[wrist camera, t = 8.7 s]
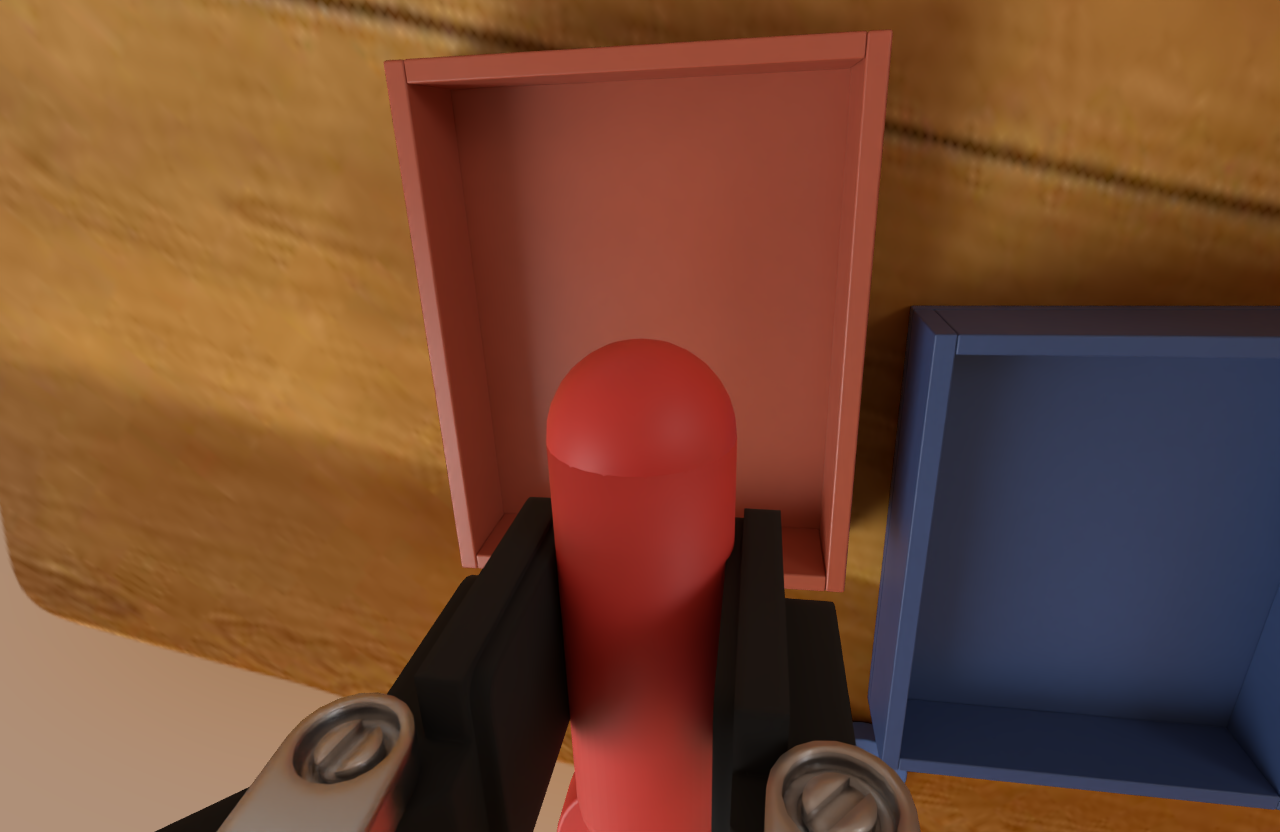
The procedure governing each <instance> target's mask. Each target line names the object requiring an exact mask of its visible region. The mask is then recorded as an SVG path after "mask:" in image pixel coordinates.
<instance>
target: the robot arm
mask: <svg viewBox="0 0 1280 832" xmlns="http://www.w3.org/2000/svg"><path fill="white" fill-rule="evenodd" d="M569 721H570V710H569V698H568V687H567V675H566V664H565V652H564V641H563V629H562V618H561V607H560V595H559V584H558V572H557V561H556V549H555V538H554V527H553V515H552V504H551V498H547V497H529V498H528V499H527V500H526V502H525V503H524V505H523V507H522V508H521V510H520V511H519V513H518V514H517V516H516V518H515V519H514V521H513V522H512V524H511V525H510V527H509V528H508V530H507V532H506V533H505V535H504V536H503V538H502V539H501V541H500V543H499V544H498V546H497V547H496V549H495V550H494V552H493V553H492V555H491V557H490V558H489V560H488V561H487V563H486V564H485V566H484V568H483V569H482V571H481V572H480V574H479V575H471V576H468V577H466V578H465V579H464V580H463V581H462V583H461V584H460V585H459V587H458V588H457V590H456V591H455V593H454V594H453V596H452V597H451V599H450V600H449V602H448V603H447V605H446V606H445V608H444V609H443V611H442V612H441V614H440V615H439V617H438V618H437V620H436V621H435V623H434V624H433V626H432V627H431V629H430V630H429V632H428V633H427V635H426V636H425V638H424V639H423V641H422V642H421V644H420V645H419V647H418V648H417V650H416V651H415V653H414V654H413V656H412V657H411V659H410V660H409V662H408V663H407V665H406V666H405V668H404V669H403V671H402V672H401V674H400V675H399V677H398V678H397V680H396V681H395V683H394V684H393V686H392V687H391V689H390V690H389V692H388V693H387V694H382V693H359V694H355V695H351V696H348V697H344V698H340V699H337V700H335V701H333V702H331V703H329V704H327V705H325V706H322V707H320V708H319V709H317V710H316V711H314V712H313V713H312V714H310V715H309V716H307V717H306V718H305V719H303V720H302V721H301V722H300V723H299V724H298V725H297V726H296V727H295V728H294V729H293V730H292V731H291V733H290V734H289V735H288V736H287V737H286V739H285V740H284V741H283V743H282V744H281V746H280V747H279V748H278V749H277V751H276V752H275V753H274V755H273V756H272V758H271V759H270V760H269V762H268V763H267V764H266V766H265V767H264V768H263V770H262V771H261V773H260V774H259V775H258V777H257V778H256V779H255V781H254V782H253V783H252V785H251V786H250V787H248V788H246V789H244V790H242V791H240V792H238V793H236V794H233V795H231V796H229V797H227V798H225V799H223V800H221V801H219V802H217V803H215V804H213V805H210V806H208V807H206V808H204V809H202V810H200V811H198V812H196V813H193V814H191V815H189V816H187V817H185V818H183V819H181V820H179V821H176V822H174V823H172V824H170V825H168V826H166V827H164V828H162V829H160V830H157V831H155V832H533V830H534V827H535V824H536V821H537V818H538V815H539V812H540V809H541V806H542V803H543V800H544V797H545V794H546V791H547V787H548V785H549V782H550V778H551V775H552V772H553V769H554V766H555V763H556V760H557V757H558V754H559V751H560V748H561V745H562V742H563V739H564V736H565V733H566V730H567V727H568V724H569ZM711 832H920V826H919V821H918V815H917V810H916V807H915V804H914V802H913V799H912V796H911V793H910V791H909V789H908V788H907V786H906V785H905V784H904V782H903V781H902V779H901V778H900V777H899V775H898V774H897V773H896V772H895V771H894V770H893V769H892V768H891V767H889V766H888V765H887V764H886V763H885V762H883V761H882V760H881V759H880V758H879V757H877V756H875V755H873V754H871V753H869V752H867V751H865V750H863V749H861V748H859V747H857V746H856V741H855V735H854V728H853V722H852V715H851V708H850V702H849V695H848V688H847V682H846V675H845V668H844V662H843V655H842V649H841V642H840V635H839V629H838V622H837V615H836V610H835V605H834V603H833V602H828V601H814V600H801V599H788V598H785V592H784V570H783V548H782V526H781V510H768V509H750V508H744V518H741V517H735V541H734V547H733V550H732V553H731V555H730V556H729V558H728V559H727V560H726V564H725V576H724V587H723V598H722V610H721V621H720V632H719V644H718V655H717V667H716V678H715V690H714V707H713V740H712V817H711Z"/></svg>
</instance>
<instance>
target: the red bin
mask: <svg viewBox="0 0 1280 832" xmlns="http://www.w3.org/2000/svg"><path fill="white" fill-rule="evenodd" d="M892 37H893V31H892V30H890V29H887V30H871V31H868V32H866V31H853V32H837V33H821V34H805V35H789V36H773V37H756V38H740V39H724V40H708V41H692V42H676V43H659V44H643V45H627V46H611V47H595V48H579V49H562V50H546V51H530V52H514V53H498V54H482V55H465V56H449V57H433V58H417V59H405V60H386V61H384V68H385V75H386V81H387V87H388V94H389V100H390V107H391V113H392V120H393V126H394V132H395V139H396V145H397V152H398V158H399V164H400V171H401V177H402V184H403V190H404V196H405V203H406V209H407V216H408V222H409V228H410V235H411V241H412V248H413V254H414V261H415V267H416V273H417V280H418V286H419V293H420V299H421V305H422V312H423V318H424V325H425V331H426V337H427V344H428V350H429V357H430V363H431V370H432V376H433V382H434V389H435V395H436V402H437V408H438V414H439V421H440V427H441V434H442V440H443V446H444V453H445V459H446V466H447V472H448V478H449V485H450V491H451V498H452V504H453V511H454V517H455V523H456V530H457V536H458V543H459V549H460V555H461V562H462V567H465V568H480V569H483V568H484V566H485V564H486V563H487V561H488V560H489V558H490V557H491V555H492V553H493V552H494V550H495V549H496V547H497V546H498V544H499V543H500V541H501V539H502V538H503V536H504V535H505V533H506V532H507V530H508V528H509V527H510V525H511V524H512V522H513V521H514V519H515V518H516V516H517V514H518V513H519V511H520V510H521V508H522V507H523V505H524V503H525V502H526V500H527V499H528V498H529V497H547V498H551V492H550V481H549V469H548V458H547V447H546V428H547V417H548V413H549V408H550V404H551V402H552V400H553V398H554V395H555V393H556V391H557V389H558V387H559V385H560V383H561V381H562V380H563V379H564V378H565V376H566V375H567V374H568V373H569V371H570V370H571V369H572V368H573V367H574V366H575V365H576V364H577V363H578V362H580V361H581V360H582V359H583V358H585V357H586V356H587V355H588V354H590V353H591V352H593V351H595V350H597V349H599V348H601V347H603V346H605V345H608V344H610V343H613V342H617V341H622V340H629V339H654V340H661V341H666V342H669V343H672V344H674V345H677V346H679V347H681V348H684V349H686V350H688V351H690V352H691V353H693V354H694V355H695V356H697V357H698V358H699V359H701V360H702V361H704V362H705V363H706V364H707V365H708V366H709V367H710V368H711V370H712V371H713V372H714V373H715V374H716V375H717V376H718V378H719V379H720V380H721V382H722V384H723V386H724V387H725V389H726V391H727V393H728V395H729V396H730V400H731V403H732V406H733V409H734V413H735V419H736V430H737V463H736V502H735V517H741V518H744V508H750V509H768V510H781V526H782V548H783V570H784V588H785V589H800V590H816V591H824V590H825V589H826V591H831V592H843V591H844V587H845V576H846V564H847V553H848V541H849V530H850V518H851V507H852V496H853V484H854V473H855V461H856V450H857V438H858V427H859V415H860V404H861V392H862V381H863V369H864V358H865V347H866V335H867V324H868V312H869V301H870V289H871V278H872V266H873V255H874V243H875V232H876V220H877V209H878V198H879V186H880V175H881V163H882V152H883V140H884V129H885V117H886V106H887V94H888V83H889V71H890V60H891V49H892Z"/></svg>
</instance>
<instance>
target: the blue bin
mask: <svg viewBox="0 0 1280 832" xmlns="http://www.w3.org/2000/svg"><path fill="white" fill-rule="evenodd" d="M868 702H869V707H870V713H871V718H872V724H873V729H874V734H875V740H876V745H877V750H878V756H879V758H880V759H881V760H882V761H883V762H885V763H886V764H887V765H888V766H889V767H891V768H892V769H893V770H898V769H899V770H901V771H910V772H920V773H929V774H939V775H949V776H958V777H968V778H977V779H987V780H996V781H1006V782H1015V783H1025V784H1034V785H1044V786H1054V787H1063V788H1073V789H1082V790H1092V791H1101V792H1111V793H1120V794H1130V795H1140V796H1149V797H1159V798H1168V799H1178V800H1187V801H1197V802H1206V803H1216V804H1225V805H1235V806H1245V807H1254V808H1264V809H1273V810H1274V809H1277V810H1280V306H911V307H910V316H909V325H908V334H907V343H906V352H905V361H904V371H903V380H902V389H901V398H900V407H899V416H898V425H897V434H896V443H895V453H894V462H893V471H892V480H891V489H890V498H889V507H888V516H887V525H886V534H885V544H884V553H883V562H882V571H881V580H880V589H879V598H878V607H877V616H876V625H875V635H874V644H873V653H872V662H871V671H870V680H869V689H868Z"/></svg>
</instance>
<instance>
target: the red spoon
mask: <svg viewBox="0 0 1280 832" xmlns="http://www.w3.org/2000/svg"><path fill="white" fill-rule="evenodd" d="M546 447H547V458H548V469H549V481H550V492H551V504H552V515H553V527H554V538H555V549H556V561H557V572H558V584H559V595H560V607H561V618H562V629H563V641H564V652H565V664H566V675H567V687H568V698H569V710H570V721H571V733H572V744H573V756H574V767H575V772H574V774H573V777H572V779H571V782H570V785H569V789H568V792H567V796H566V799H565V803H564V806H563V809H562V812H561V816H560V819H559V823H558V828H557V832H711V817H712V740H713V707H714V690H715V678H716V667H717V655H718V644H719V632H720V621H721V610H722V598H723V587H724V576H725V564H726V560H727V559H728V558H729V556H730V555H731V553H732V550H733V547H734V541H735V502H736V463H737V430H736V419H735V413H734V409H733V406H732V403H731V400H730V396H729V395H728V393H727V391H726V389H725V387H724V386H723V384H722V382H721V380H720V379H719V378H718V376H717V375H716V374H715V373H714V372H713V371H712V370H711V368H710V367H709V366H708V365H707V364H706V363H705V362H704V361H702V360H701V359H699V358H698V357H697V356H695V355H694V354H693V353H691V352H690V351H688V350H686V349H684V348H681V347H679V346H677V345H674V344H672V343H669V342H666V341H661V340H654V339H629V340H622V341H617V342H613V343H610V344H608V345H605V346H603V347H601V348H599V349H597V350H595V351H593V352H591V353H590V354H588V355H587V356H586V357H585V358H583V359H582V360H581V361H580V362H578V363H577V364H576V365H575V366H574V367H573V368H572V369H571V370H570V371H569V373H568V374H567V375H566V376H565V378H564V379H563V380H562V381H561V383H560V385H559V387H558V389H557V391H556V393H555V395H554V398H553V400H552V402H551V404H550V408H549V413H548V417H547V428H546Z"/></svg>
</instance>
